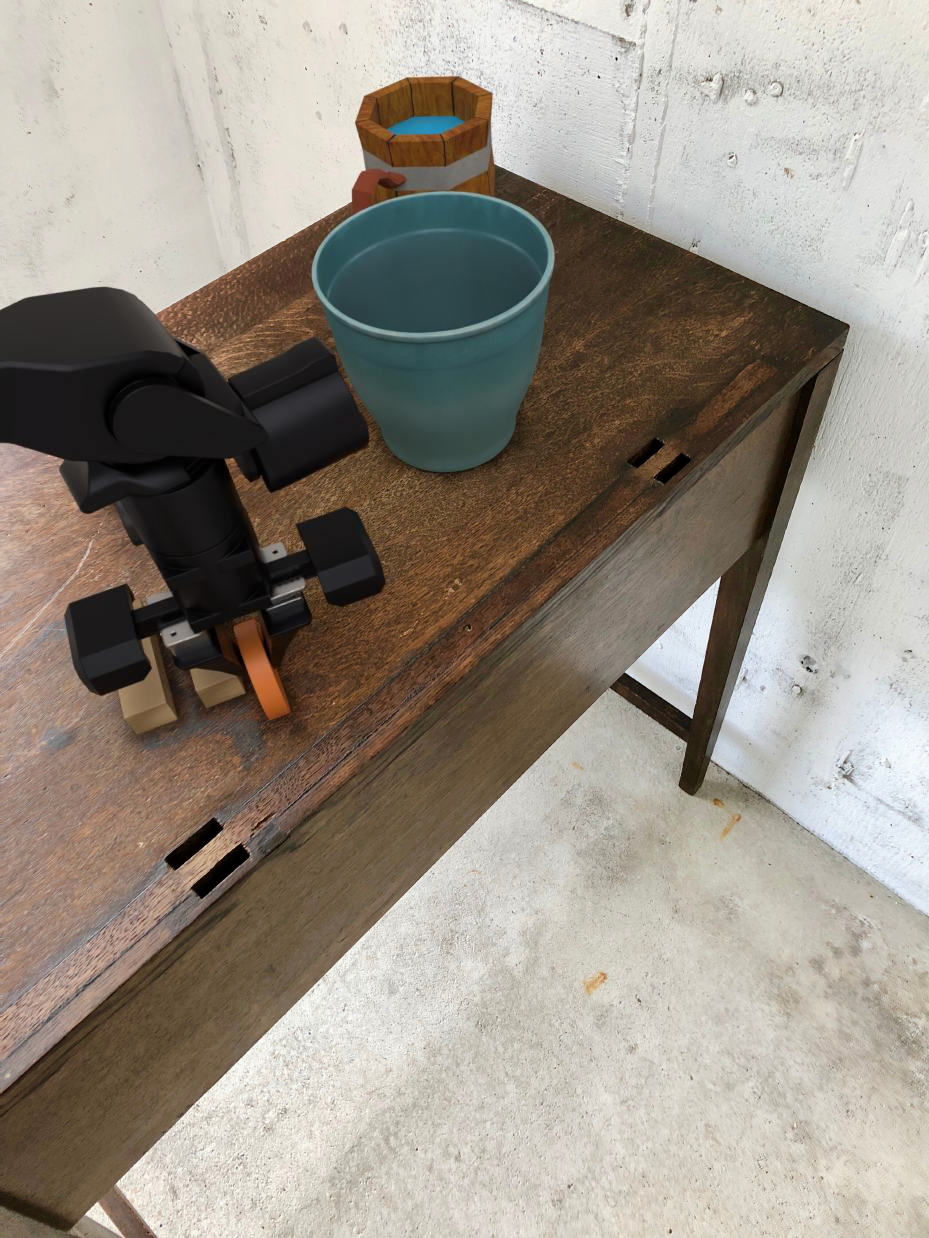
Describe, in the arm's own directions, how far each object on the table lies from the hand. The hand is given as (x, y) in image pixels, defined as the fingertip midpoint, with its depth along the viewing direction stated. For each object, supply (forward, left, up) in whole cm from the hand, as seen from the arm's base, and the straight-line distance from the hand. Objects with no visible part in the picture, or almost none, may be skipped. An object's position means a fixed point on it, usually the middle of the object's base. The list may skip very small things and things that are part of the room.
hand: (262, 668), depth 61 cm
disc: (0, 0, -4) cm, 4 cm away
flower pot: (+22, +20, -4) cm, 30 cm away
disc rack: (-6, +6, -4) cm, 9 cm away
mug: (+29, +44, -4) cm, 53 cm away
